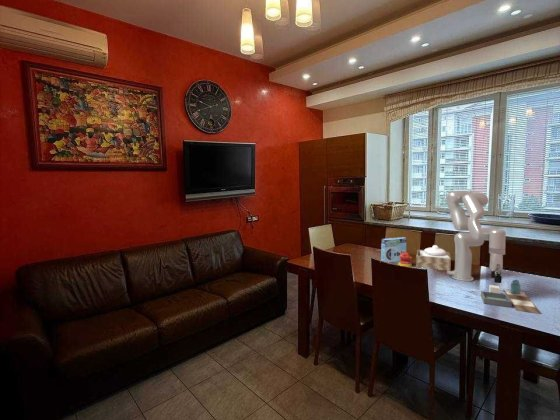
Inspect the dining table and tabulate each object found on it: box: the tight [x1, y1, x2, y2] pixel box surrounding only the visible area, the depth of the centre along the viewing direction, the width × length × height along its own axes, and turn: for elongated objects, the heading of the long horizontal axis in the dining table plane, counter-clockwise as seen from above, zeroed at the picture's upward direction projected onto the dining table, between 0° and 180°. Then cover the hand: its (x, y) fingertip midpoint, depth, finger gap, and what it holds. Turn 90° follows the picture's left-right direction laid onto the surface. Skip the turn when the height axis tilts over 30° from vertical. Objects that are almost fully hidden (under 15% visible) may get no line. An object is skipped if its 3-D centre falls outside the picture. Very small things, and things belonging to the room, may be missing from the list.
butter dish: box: [420, 244, 449, 258], centre depth 235 cm, size 18×18×16 cm
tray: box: [480, 290, 513, 309], centre depth 164 cm, size 12×12×3 cm
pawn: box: [510, 279, 521, 294], centre depth 175 cm, size 4×4×8 cm
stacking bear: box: [398, 252, 413, 268], centre depth 205 cm, size 11×10×18 cm
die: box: [488, 284, 501, 293], centre depth 175 cm, size 5×5×5 cm
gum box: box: [380, 236, 408, 265], centre depth 230 cm, size 20×5×23 cm, turn 106°
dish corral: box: [415, 249, 452, 271], centre depth 235 cm, size 23×23×9 cm
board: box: [503, 289, 542, 315], centre depth 165 cm, size 10×32×1 cm, turn 153°
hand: (496, 280), depth 173 cm, fingers open, 9 cm apart
